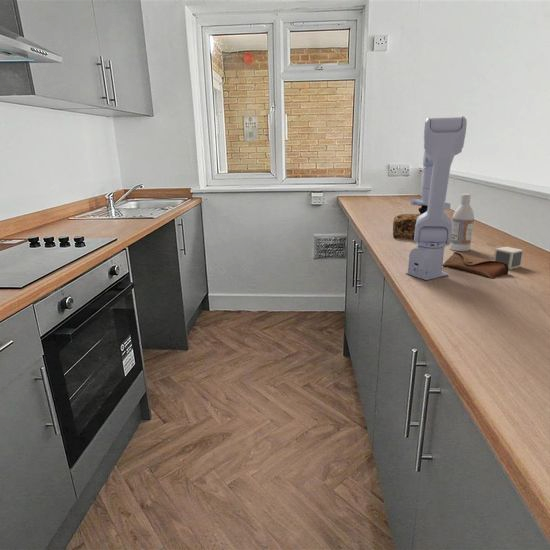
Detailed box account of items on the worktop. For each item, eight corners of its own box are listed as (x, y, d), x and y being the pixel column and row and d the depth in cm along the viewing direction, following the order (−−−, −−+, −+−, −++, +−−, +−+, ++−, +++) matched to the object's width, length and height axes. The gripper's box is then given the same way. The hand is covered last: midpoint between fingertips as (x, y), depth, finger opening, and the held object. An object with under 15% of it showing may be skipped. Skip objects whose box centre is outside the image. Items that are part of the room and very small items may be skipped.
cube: (510, 270, 125) (512, 252, 124) (492, 265, 130) (495, 248, 128) (520, 267, 128) (523, 250, 126) (503, 262, 133) (505, 246, 131)
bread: (440, 236, 171) (443, 212, 168) (439, 242, 162) (442, 217, 159) (395, 233, 178) (396, 210, 175) (391, 238, 169) (393, 214, 166)
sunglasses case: (437, 265, 130) (445, 246, 131) (447, 272, 135) (455, 254, 135) (494, 279, 117) (503, 258, 117) (502, 286, 121) (511, 266, 121)
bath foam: (462, 252, 145) (469, 195, 139) (445, 248, 151) (451, 194, 145) (473, 249, 149) (481, 194, 143) (456, 246, 154) (463, 192, 148)
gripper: (458, 188, 129) (453, 231, 133) (422, 185, 141) (419, 224, 145) (443, 190, 126) (438, 233, 130) (408, 186, 138) (404, 226, 142)
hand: (427, 228), depth 137 cm, fingers closed
